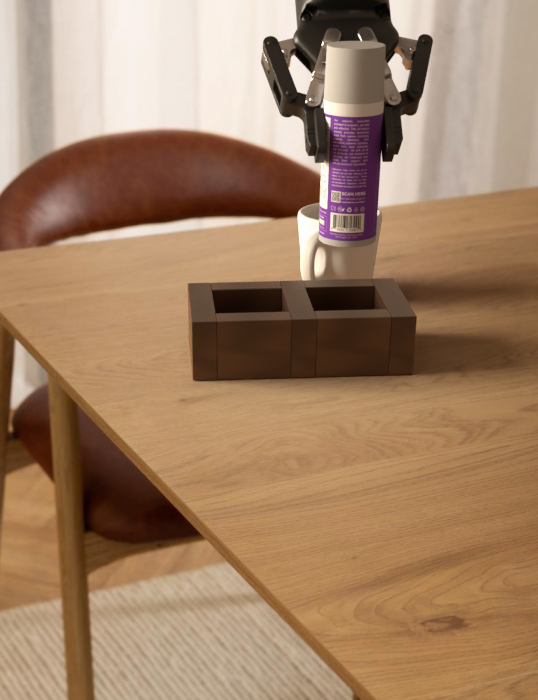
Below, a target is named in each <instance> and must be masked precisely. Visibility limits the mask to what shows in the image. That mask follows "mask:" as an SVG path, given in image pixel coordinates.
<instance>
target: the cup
mask: <svg viewBox="0 0 538 700" xmlns="http://www.w3.org/2000/svg"><path fill="white" fill-rule="evenodd" d="M319 210H320V202H315V203H311V204H307V205H306V206H303V207H301V208H300V209H299V210H298V212H297V227H298V228H297V229H298V242H299V255H300V259H299V268H300V269H299V270H300V276H301V280H302V281H303V280H340V279H374V272H375V266H376V260H377V254H378V247H379V243H380V242H379V241H380V235H381V229H382V224H383V223H382V222H383V213H382V211H381V210H380V209H379V208H378V214H377V230H376V241H375V242H374V243H372V244H370V245H367V246H362V247H336V246H331V245H327V244H324V243H322V242H321V241H320V240H319Z"/></svg>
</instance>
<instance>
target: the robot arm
mask: <svg viewBox="0 0 538 700" xmlns="http://www.w3.org/2000/svg"><path fill="white" fill-rule="evenodd" d="M294 5H295V16H296V18H295V19H296V30H295V32H294V33H293V36H292V38H287V39H283V40H280V41H279V40H278V38H276V37H275V36H273V35H269V36H265V38H263V40H262V49H261V50H262V51H261V60H260V64H261V66H262V70H263V72H264V75H265V77H266V80H267V83H268V86H269V88H270V90H271V93H272V97H273V98H274V101H275V104H276V107H277V109H278V113H279V115H280V116H281V117H283V118H291V117H295V118H298V119H300V120H301V121H302V123H303V134H304V147H305V148H304V149H305V152H306V154H307V156H308V157H313V159H314V164H321V163H324V161H325V157H326V151H327V143H326V130H325V118H324V108H323V106H322V105H323V102H324V86H325V69H326V53H327V44H329V43H332V42H339V41H372V42H379V43H383V44H385V45H386V52H385V82H384V114H383V130H382V147H381V160H382V163H392V162H393V160H394V157H395V156H396V155H397V156H398V155H399V154H400V150H401V147H402V143H403V140H404V133H403V124H402V123H403V122H402V116H404V115H406V116H409V117H410V116H414V115H416V114H417V112H418V109H419V105H420V101H421V99H422V97H423V94H424V90H425V86H426V85H425V84H426V80H427V75H428V71H429V65H430V60H431V54H432V50H433V49H432V48H433V43H434V39H433V36H431V35H430V34H427V33H423V34H420V35H419V36H418V38H417V39H414V38H413V39H412V38H408V37H404V36H400V33H399V31H398V30H397V29H396V27H395V25H394V24H393V22H392V15H391V5H390V0H294ZM396 54H397V55H399V56H400V57H401V64H402V66H403V67H404V69H405V70H406V71H408V77H407V81H406V87H405V89H404V90H401V91H399V90H398V88H397V85H396V84H395V81H394V80H393V74H392V70H391V68H390V66H389V63H390V61H391V60H392V59H393V58H394V56H395V55H396ZM293 56H295V58H296V59H297V60H298V62H300V63H301V64H302V65H303V66H304V67H305V68H306V69H307V71H309V73H310V74H311V79H310V82H309V86H308V89H307V92H306V93H302V92H299V91H298V89H297V87H296V84H295V82H294V79H293V76H292V74H291V71H290V69H289V68H290V66H291V61H292V57H293Z"/></svg>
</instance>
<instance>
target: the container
mask: <svg viewBox="0 0 538 700" xmlns="http://www.w3.org/2000/svg"><path fill="white" fill-rule="evenodd" d="M385 52H386V45H385V44H383V43H379V42H372V41H339V42H332V43H329V44H327V53H326V69H325V86H324V101H323V103H322V105H323V106H322V108H324V118H325V130H326V143H327V151H326V157H325V161H324V163H320V181H319V182H320V186H319V203H320V210H319V240H320V241H321V242H322V243H324V244H327V245H331V246H336V247H362V246H367V245H370V244H372V243H374V242H375V241H376V230H377V214H378V209H379V196H380V181H381V179H380V178H381V160H382V152H381V147H382V130H383V114H384V82H385Z"/></svg>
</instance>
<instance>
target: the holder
mask: <svg viewBox="0 0 538 700" xmlns="http://www.w3.org/2000/svg"><path fill="white" fill-rule="evenodd" d="M399 286H400V285H398V283H397V282H396V280H395V278H394V277H382V278H373V279H340V280H303V279H301V280H300V279H297V280H267V281H264V280H262V281H229V282H228V281H227V282H226V281H225V282H189V283H187V317H188V319H187V320H188V321H187V323H188V345H189V355H190V366H191V375H192V381H216V380H219V381H221V380H224V381H225V380H256V379H257V380H259V379H260V380H261V379H290V378H291V379H293V378H294V379H295V378H296V379H297V378H322V377H323V378H325V377H326V378H327V377H360V376H361V377H362V376H403V375H405V376H407V375H413V373H414V371H413V370H414V360H415V346H416V333H417V322H418V320H417V319H418V316H417V314H416V313H415V311H414V310H413V308H412V306H411V305H410V303H409V301H408V300H407V297H406V296H405V294H404V293H403V291H402V290H401V288H400V287H399Z"/></svg>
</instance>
